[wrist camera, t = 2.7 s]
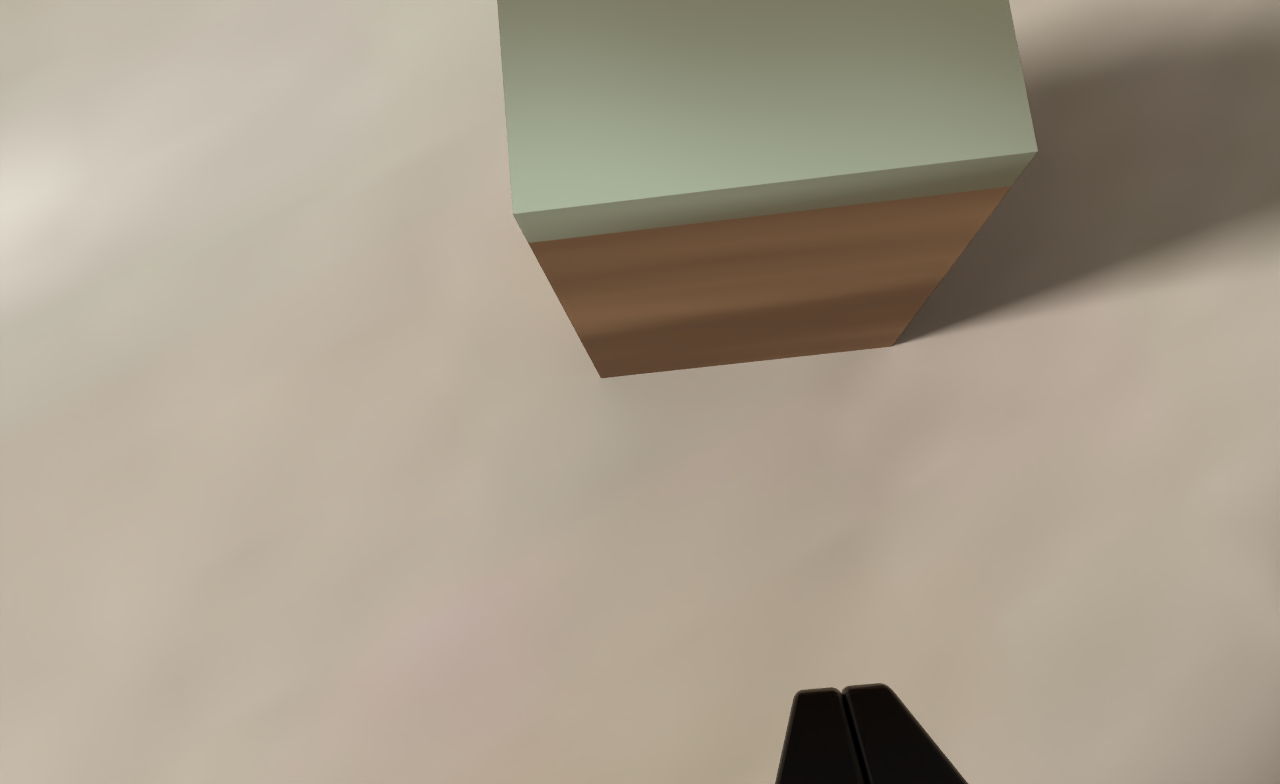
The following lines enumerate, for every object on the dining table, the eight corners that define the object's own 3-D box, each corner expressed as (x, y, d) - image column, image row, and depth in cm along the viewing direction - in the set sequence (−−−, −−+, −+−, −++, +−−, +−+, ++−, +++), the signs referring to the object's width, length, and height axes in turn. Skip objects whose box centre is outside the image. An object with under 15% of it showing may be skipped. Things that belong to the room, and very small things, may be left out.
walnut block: (891, 346, 16) (1038, 150, 9) (600, 378, 17) (512, 213, 9) (862, 156, 17) (975, -168, 10) (584, 189, 17) (490, -101, 10)
